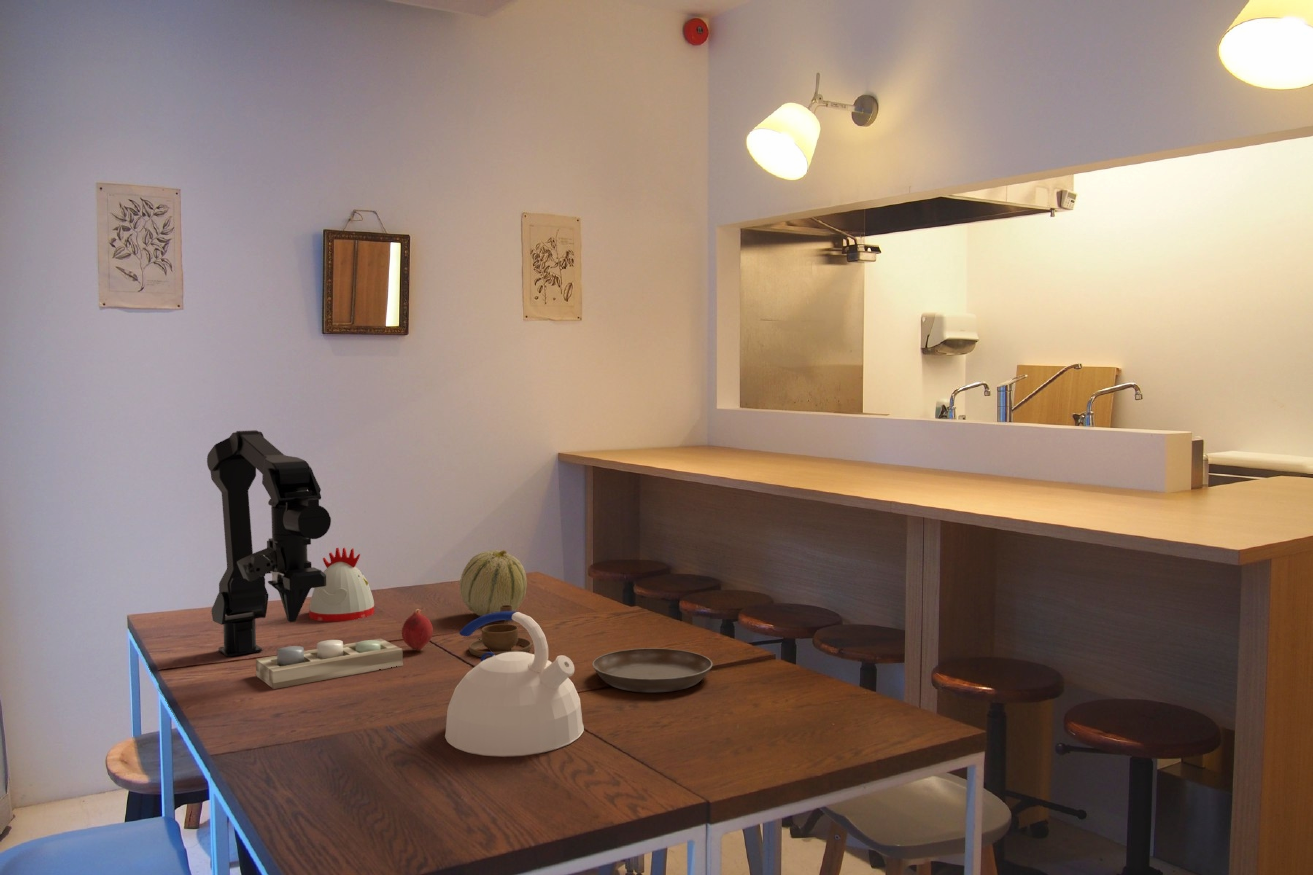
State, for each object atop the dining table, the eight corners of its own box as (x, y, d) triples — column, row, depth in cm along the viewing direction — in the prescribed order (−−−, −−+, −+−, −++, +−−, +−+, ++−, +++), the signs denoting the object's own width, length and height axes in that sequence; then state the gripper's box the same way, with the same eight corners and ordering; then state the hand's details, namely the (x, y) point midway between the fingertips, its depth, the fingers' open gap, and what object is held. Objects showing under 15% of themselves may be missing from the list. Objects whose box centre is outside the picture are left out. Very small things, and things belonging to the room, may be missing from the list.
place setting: (443, 655, 195) (442, 624, 195) (502, 632, 214) (502, 604, 213) (520, 665, 188) (520, 633, 188) (575, 640, 206) (575, 611, 206)
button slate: (273, 662, 180) (273, 648, 180) (299, 658, 183) (298, 644, 182) (281, 667, 176) (281, 653, 176) (307, 663, 179) (307, 649, 179)
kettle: (526, 768, 137) (524, 635, 136) (414, 740, 148) (411, 616, 147) (612, 725, 154) (611, 606, 153) (506, 703, 165) (504, 591, 164)
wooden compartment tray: (256, 675, 181) (255, 658, 181) (381, 653, 195) (380, 638, 195) (273, 688, 173) (273, 671, 173) (402, 665, 187) (402, 649, 187)
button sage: (352, 655, 188) (351, 642, 188) (375, 651, 191) (374, 638, 191) (361, 660, 185) (360, 647, 185) (384, 656, 188) (384, 643, 188)
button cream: (313, 655, 184) (313, 642, 184) (337, 651, 187) (337, 638, 187) (322, 660, 181) (321, 647, 181) (346, 656, 183) (346, 643, 183)
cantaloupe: (472, 608, 233) (471, 543, 233) (535, 610, 231) (534, 544, 230) (450, 624, 219) (448, 554, 218) (517, 625, 217) (516, 555, 216)
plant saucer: (639, 658, 192) (639, 640, 192) (734, 675, 180) (734, 657, 180) (568, 685, 175) (567, 665, 175) (667, 706, 163) (667, 685, 163)
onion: (425, 655, 194) (424, 613, 193) (397, 653, 195) (396, 612, 194) (437, 647, 199) (437, 606, 199) (410, 646, 201) (409, 605, 200)
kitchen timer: (363, 621, 222) (362, 552, 221) (300, 621, 222) (298, 552, 221) (381, 607, 236) (380, 542, 235) (322, 607, 236) (320, 542, 235)
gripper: (225, 531, 181) (228, 618, 182) (258, 544, 166) (261, 639, 167) (289, 525, 188) (291, 609, 189) (326, 537, 173) (328, 628, 174)
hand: (291, 621), depth 179 cm, fingers closed
